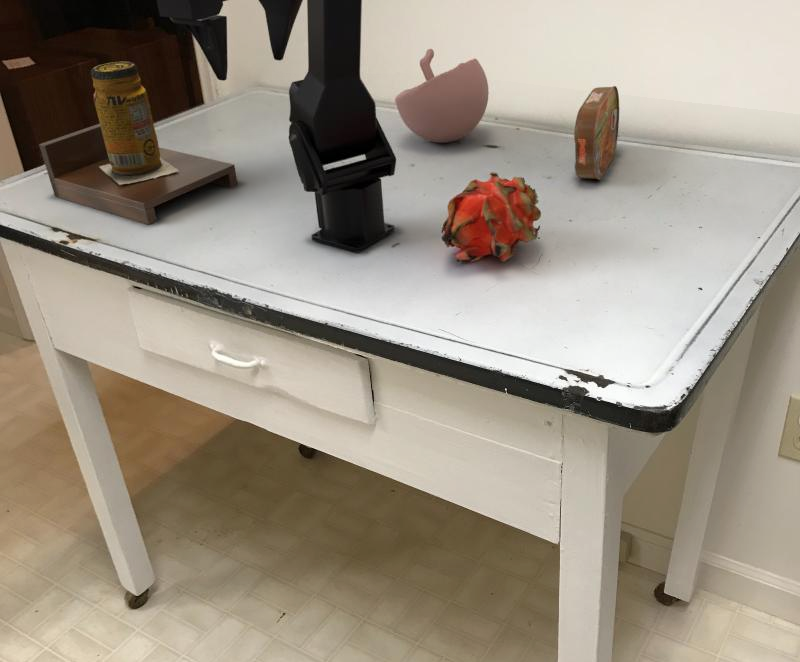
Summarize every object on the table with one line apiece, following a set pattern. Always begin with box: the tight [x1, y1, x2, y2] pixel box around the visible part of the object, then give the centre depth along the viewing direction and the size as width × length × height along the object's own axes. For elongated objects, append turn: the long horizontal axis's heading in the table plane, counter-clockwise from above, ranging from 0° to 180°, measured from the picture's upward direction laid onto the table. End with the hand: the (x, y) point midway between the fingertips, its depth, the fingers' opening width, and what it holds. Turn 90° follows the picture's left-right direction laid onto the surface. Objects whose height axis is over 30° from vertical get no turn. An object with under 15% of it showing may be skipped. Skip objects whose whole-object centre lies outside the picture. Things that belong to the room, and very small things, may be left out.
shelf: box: [39, 123, 239, 225], centre depth 103 cm, size 18×14×6 cm
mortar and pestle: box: [394, 48, 490, 144], centre depth 111 cm, size 12×12×12 cm
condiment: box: [90, 61, 178, 185], centre depth 100 cm, size 7×8×12 cm
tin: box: [573, 85, 620, 181], centre depth 100 cm, size 15×3×8 cm, turn 158°
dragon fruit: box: [441, 171, 542, 263], centre depth 83 cm, size 8×8×12 cm
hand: (251, 69), depth 98 cm, fingers open, 9 cm apart
